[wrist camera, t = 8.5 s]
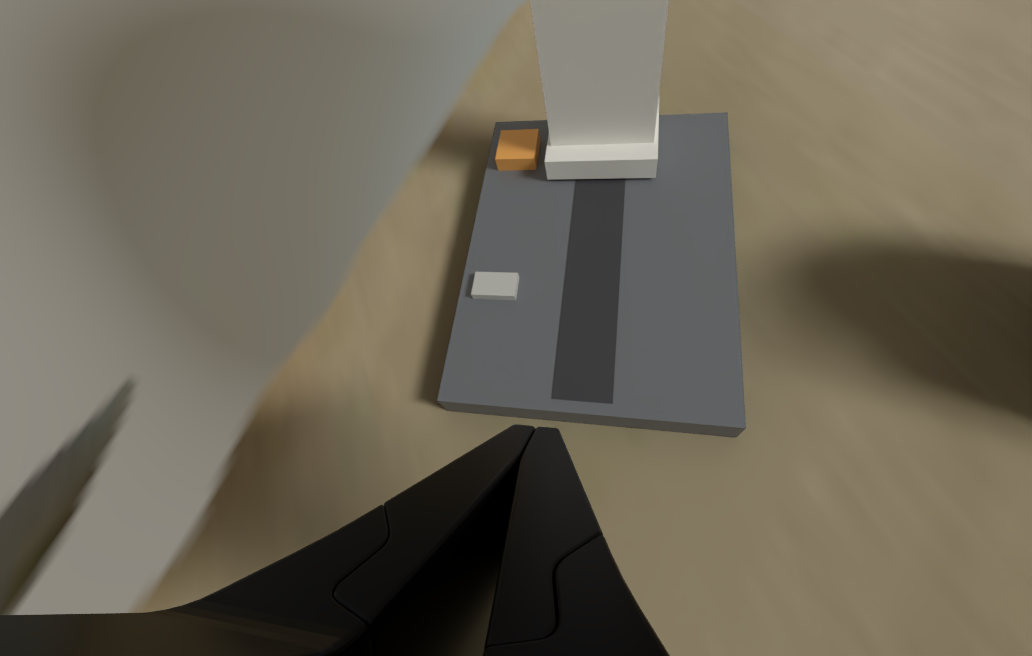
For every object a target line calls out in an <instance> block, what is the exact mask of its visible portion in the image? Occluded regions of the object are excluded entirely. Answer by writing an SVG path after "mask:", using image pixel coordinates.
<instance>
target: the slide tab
mask: <svg viewBox="0 0 1032 656" xmlns="http://www.w3.org/2000/svg"><path fill="white" fill-rule="evenodd" d="M668 2H669V0H530V3H531V10H532V17H533V24H534V31H535V38H536V45H537V52H538V59H539V66H540V73H541V80H542V87H543V94H544V101H545V108H546V115H547V122H548V129H549V135H548V142H547V149H546V155H545V168H546V174H547V180H550V179H614V178H656V171H657V162H658V131H659V88H660V78H661V69H662V59H663V50H664V40H665V31H666V21H667V12H668Z"/></svg>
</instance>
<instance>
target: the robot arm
mask: <svg viewBox="0 0 1032 656" xmlns="http://www.w3.org/2000/svg"><path fill="white" fill-rule="evenodd" d="M0 656H670V655H669V654H668V652H667V651H666V649H665V647H664V646H663V644H662V643H661V641H660V639H659V638H658V636H657V634H656V633H655V631H654V630H653V628H652V626H651V625H650V623H649V622H648V620H647V618H646V617H645V615H644V613H643V612H642V610H641V609H640V607H639V605H638V603H637V602H636V600H635V598H634V596H633V595H632V593H631V591H630V590H629V588H628V586H627V584H626V583H625V581H624V579H623V577H622V575H621V573H620V571H619V569H618V566H617V564H616V562H615V560H614V558H613V556H612V554H611V552H610V549H609V547H608V544H607V542H606V540H605V538H604V537H603V533H602V531H601V528H600V526H599V524H598V521H597V519H596V517H595V514H594V512H593V509H592V507H591V505H590V502H589V500H588V498H587V495H586V493H585V491H584V488H583V486H582V483H581V481H580V479H579V476H578V474H577V472H576V469H575V467H574V464H573V462H572V460H571V457H570V455H569V453H568V450H567V448H566V445H565V443H564V441H563V438H562V436H561V434H560V431H559V430H558V429H557V428H548V427H537V428H536V429H535V427H533V426H527V425H517V424H516V425H513V426H511V427H509V428H507V429H506V430H504V431H502V432H501V433H499V434H497V435H496V436H494V437H493V438H491V439H489V440H488V441H486V442H484V443H483V444H481V445H479V446H478V447H476V448H474V449H473V450H471V451H469V452H468V453H466V454H464V455H463V456H461V457H459V458H458V459H456V460H454V461H453V462H451V463H449V464H448V465H446V466H444V467H443V468H441V469H439V470H438V471H436V472H435V473H433V474H431V475H430V476H428V477H426V478H425V479H423V480H421V481H420V482H418V483H416V484H415V485H413V486H411V487H410V488H408V489H406V490H405V491H403V492H401V493H400V494H398V495H396V496H395V497H393V498H391V499H390V500H388V501H386V502H385V503H384V506H383V505H380V506H378V507H376V508H375V509H373V510H371V511H370V512H368V513H366V514H365V515H363V516H361V517H359V518H358V519H356V520H354V521H353V522H351V523H349V524H347V525H346V526H344V527H342V528H340V529H339V530H337V531H335V532H333V533H331V534H329V535H327V536H326V537H324V538H322V539H320V540H318V541H316V542H314V543H312V544H310V545H308V546H306V547H305V548H303V549H301V550H299V551H297V552H295V553H293V554H291V555H289V556H287V557H285V558H283V559H281V560H279V561H277V562H275V563H273V564H271V565H269V566H267V567H265V568H263V569H261V570H259V571H257V572H255V573H253V574H251V575H249V576H247V577H245V578H243V579H241V580H239V581H237V582H235V583H233V584H231V585H229V586H227V587H225V588H223V589H221V590H219V591H217V592H215V593H212V594H210V595H208V596H206V597H204V598H202V599H199V600H197V601H194V602H191V603H188V604H185V605H182V606H178V607H174V608H170V609H166V610H161V611H154V612H148V613H120V614H119V613H116V614H60V615H59V614H56V615H0Z"/></svg>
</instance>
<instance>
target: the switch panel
mask: <svg viewBox="0 0 1032 656" xmlns="http://www.w3.org/2000/svg"><path fill="white" fill-rule="evenodd" d="M548 135H549V129H548V122H547V120H539V121H515V122H496V123H495V128H494V133H493V138H492V142H491V147H490V152H489V157H488V161H487V166H486V171H485V176H484V180H483V185H482V190H481V195H480V199H479V204H478V209H477V213H476V218H475V223H474V228H473V232H472V237H471V242H470V247H469V251H468V256H467V261H466V266H465V270H464V275H463V280H462V285H461V289H460V294H459V299H458V304H457V308H456V313H455V318H454V323H453V327H452V332H451V337H450V342H449V346H448V351H447V356H446V360H445V365H444V370H443V375H442V379H441V384H440V389H439V394H438V398H437V401H438V402H439V403H440V404H441V405H442V406H443V407H444V408H445V409H446V410H447V411H456V412H467V413H477V414H488V415H499V416H510V417H521V418H532V419H542V420H553V421H564V422H575V423H586V424H596V425H607V426H618V427H629V428H640V429H650V430H661V431H672V432H683V433H694V434H704V435H715V436H726V437H737V436H738V435H739V434H740V433H741V432H742V431H743V430H745V429H746V422H745V405H744V388H743V371H742V353H741V336H740V319H739V302H738V285H737V268H736V251H735V234H734V217H733V200H732V182H731V165H730V148H729V131H728V114H727V113H704V114H680V115H659V131H658V162H657V171H656V178H614V179H550V180H547V174H546V168H545V155H546V149H547V142H548Z"/></svg>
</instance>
